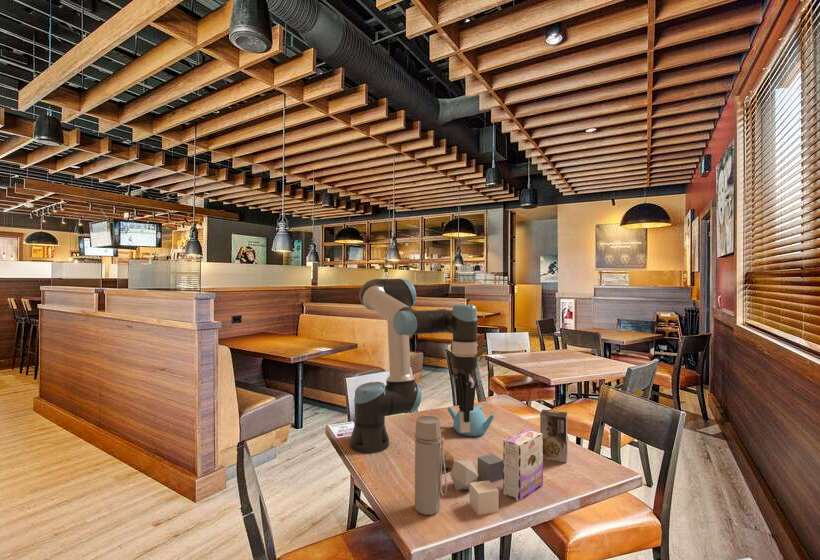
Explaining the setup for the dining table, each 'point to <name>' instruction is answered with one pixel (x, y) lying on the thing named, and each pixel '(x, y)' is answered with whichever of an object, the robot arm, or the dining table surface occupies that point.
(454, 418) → the teapot
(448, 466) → the bread roll
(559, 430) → the coffee box
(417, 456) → the water bottle
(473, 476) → the die
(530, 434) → the candy box
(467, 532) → the dining table surface
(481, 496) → the cream block
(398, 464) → the dining table surface
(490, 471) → the charcoal block
